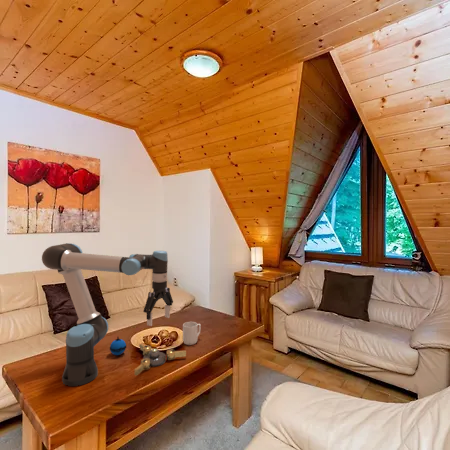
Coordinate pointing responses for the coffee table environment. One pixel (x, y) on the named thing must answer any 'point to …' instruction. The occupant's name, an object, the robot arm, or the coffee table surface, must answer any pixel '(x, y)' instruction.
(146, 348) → the knob
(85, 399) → the coffee table surface
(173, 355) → the knob
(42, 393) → the coffee table surface
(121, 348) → the ornament
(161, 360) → the tribrach plate
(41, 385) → the coffee table surface
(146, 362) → the knob
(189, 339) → the mug
